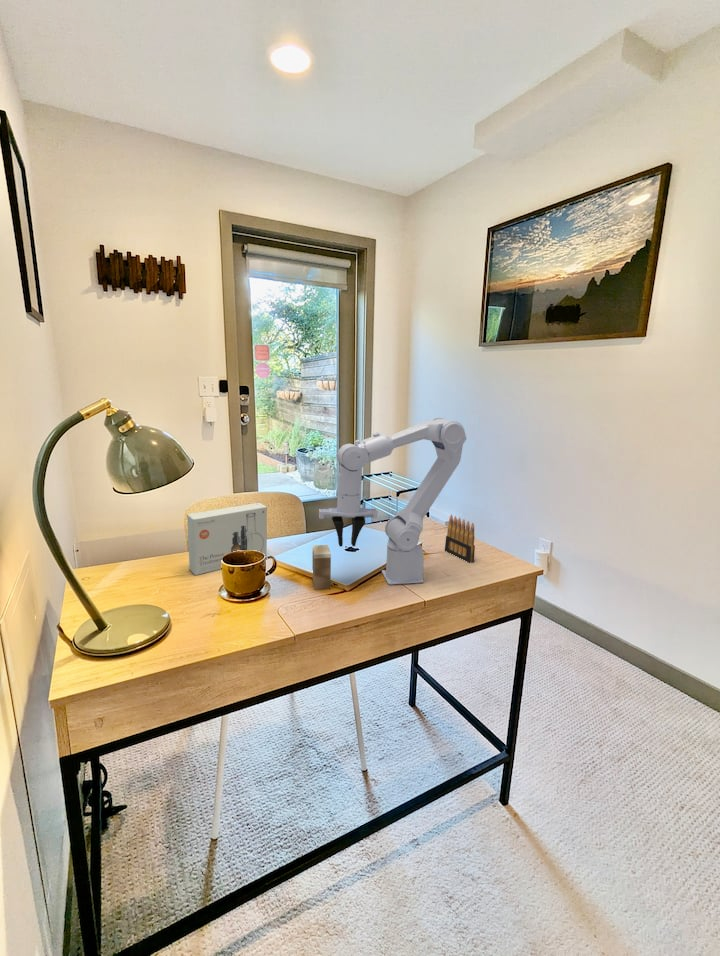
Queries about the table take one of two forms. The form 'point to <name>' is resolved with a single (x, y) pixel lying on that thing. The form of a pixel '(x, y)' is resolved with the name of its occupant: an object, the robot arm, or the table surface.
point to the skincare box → (225, 534)
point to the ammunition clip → (460, 539)
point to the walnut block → (321, 567)
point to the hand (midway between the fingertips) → (346, 544)
